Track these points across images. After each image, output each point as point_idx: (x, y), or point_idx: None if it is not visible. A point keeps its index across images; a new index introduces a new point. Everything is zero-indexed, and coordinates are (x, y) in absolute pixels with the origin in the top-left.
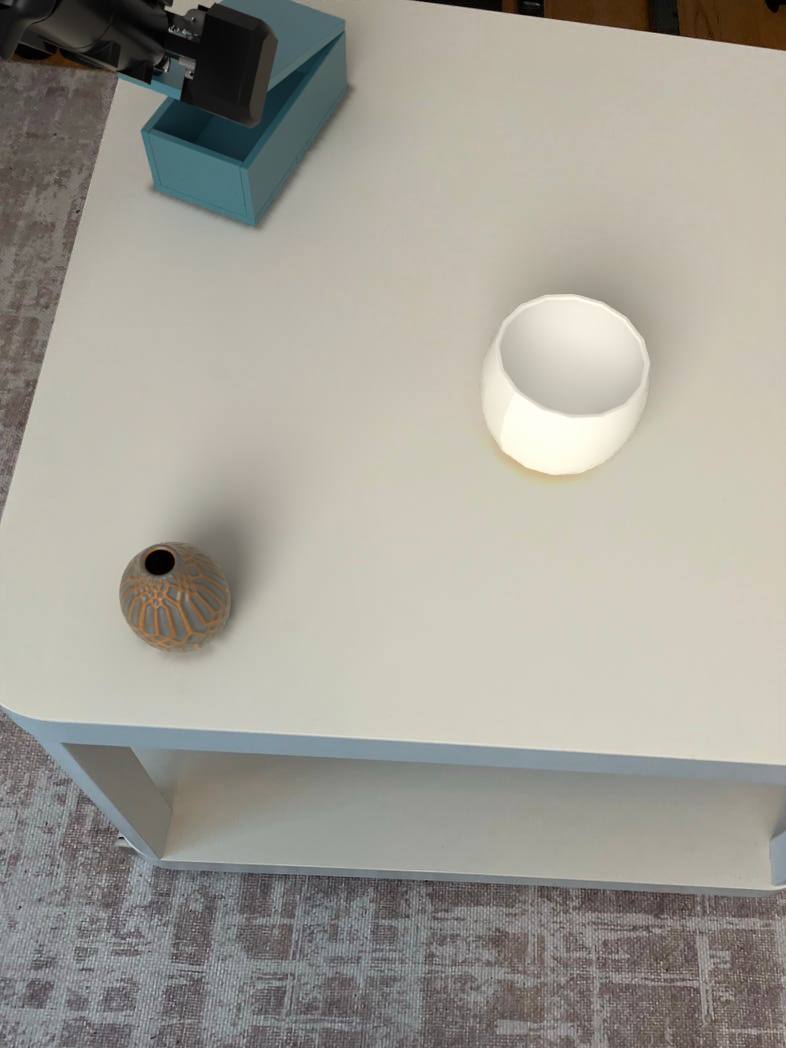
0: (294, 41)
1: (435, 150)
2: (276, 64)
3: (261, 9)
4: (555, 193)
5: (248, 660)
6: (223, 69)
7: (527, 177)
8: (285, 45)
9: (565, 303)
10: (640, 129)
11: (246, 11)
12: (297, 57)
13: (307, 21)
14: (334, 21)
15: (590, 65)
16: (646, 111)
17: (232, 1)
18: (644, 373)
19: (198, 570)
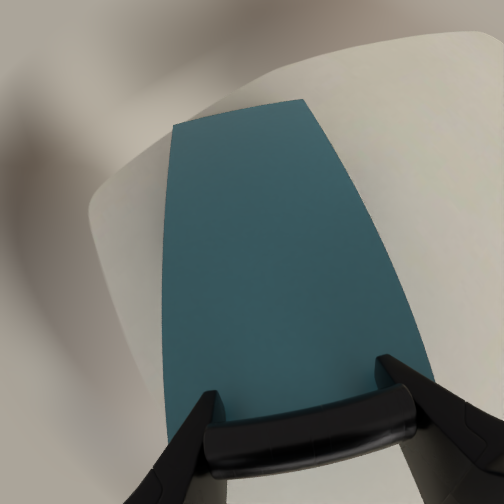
0: (312, 160)
1: (419, 170)
2: (359, 226)
3: (220, 141)
4: (500, 161)
5: None
6: None
7: (480, 157)
8: (314, 175)
9: None
10: (473, 87)
11: (208, 156)
12: (354, 187)
13: (279, 122)
14: (299, 106)
15: (410, 56)
16: (462, 74)
17: (180, 155)
18: None
19: None
